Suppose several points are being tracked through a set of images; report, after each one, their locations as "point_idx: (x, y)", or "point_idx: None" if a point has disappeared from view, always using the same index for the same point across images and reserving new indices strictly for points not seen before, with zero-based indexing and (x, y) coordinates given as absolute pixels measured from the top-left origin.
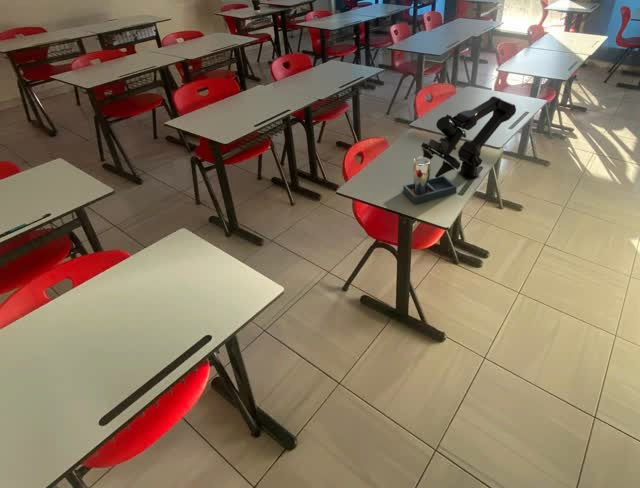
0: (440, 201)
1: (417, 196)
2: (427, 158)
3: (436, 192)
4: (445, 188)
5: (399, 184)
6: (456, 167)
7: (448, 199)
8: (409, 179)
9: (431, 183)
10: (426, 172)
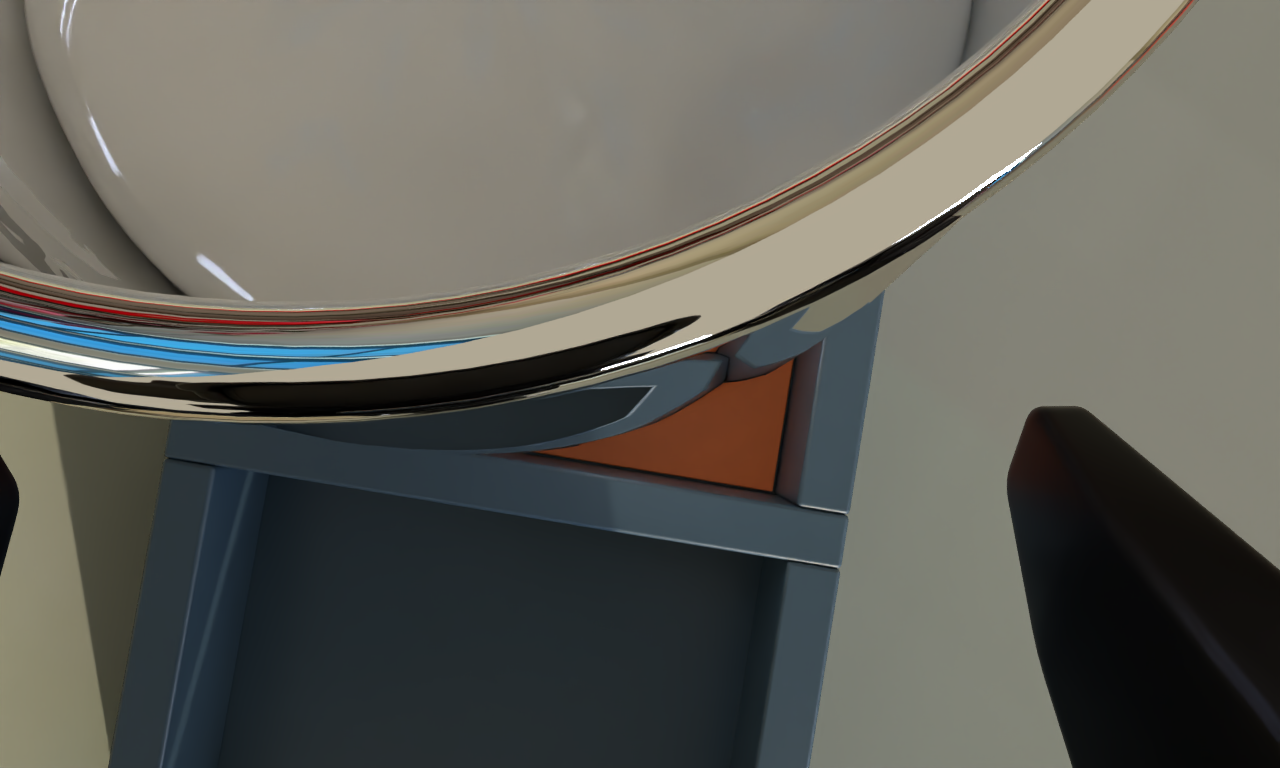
0: (92, 435)
1: None
2: (394, 308)
3: (173, 433)
4: (154, 759)
5: (1191, 97)
6: None
7: (45, 642)
8: (1244, 433)
9: (739, 721)
10: None
